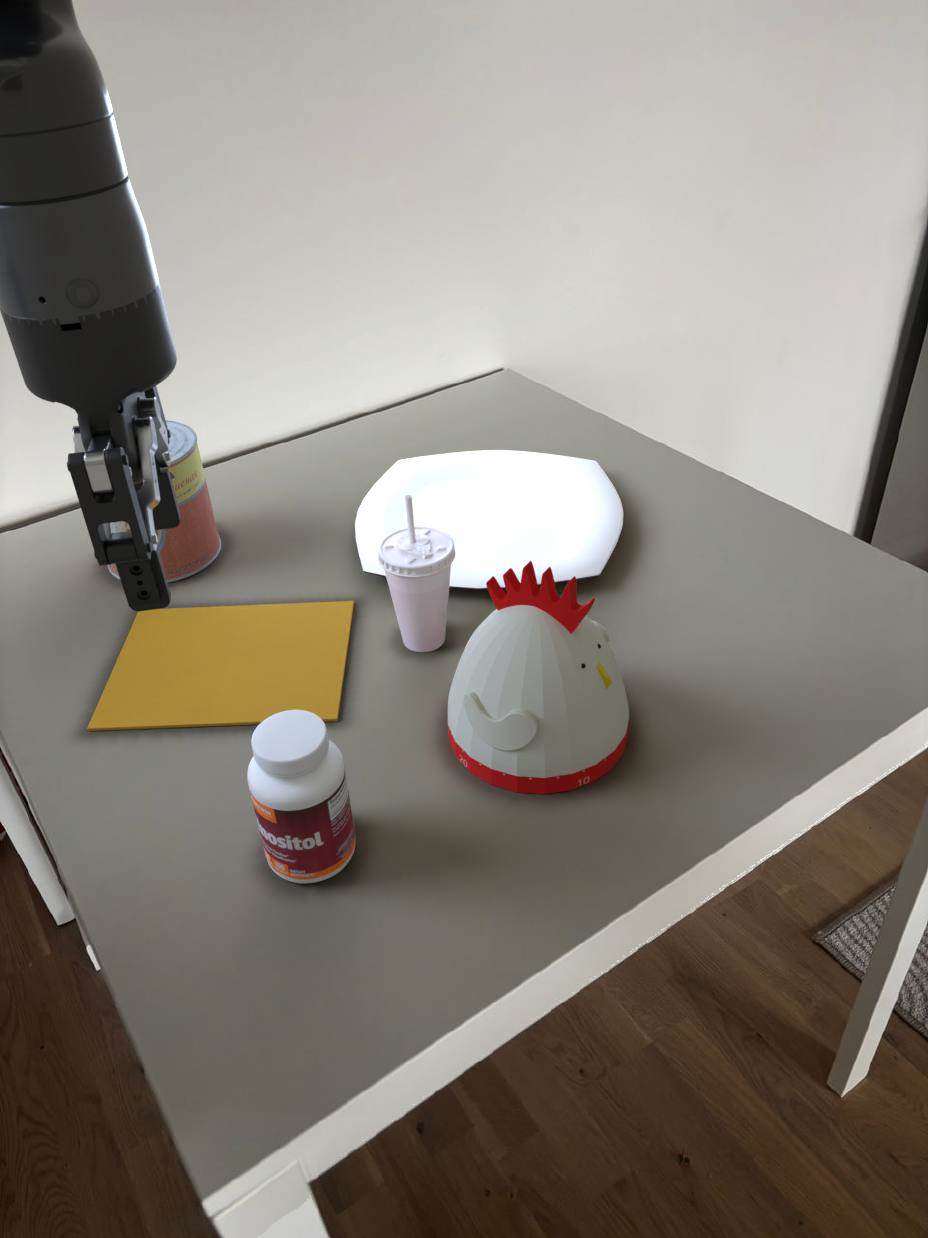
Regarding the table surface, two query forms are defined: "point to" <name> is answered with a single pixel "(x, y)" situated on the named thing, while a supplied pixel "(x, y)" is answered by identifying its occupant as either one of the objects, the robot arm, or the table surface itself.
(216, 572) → the table surface
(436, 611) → the smoothie
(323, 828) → the pill bottle
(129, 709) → the cloth
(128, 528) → the canned food
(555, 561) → the plate
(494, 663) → the kitchen timer
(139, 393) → the robot arm
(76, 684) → the table surface
